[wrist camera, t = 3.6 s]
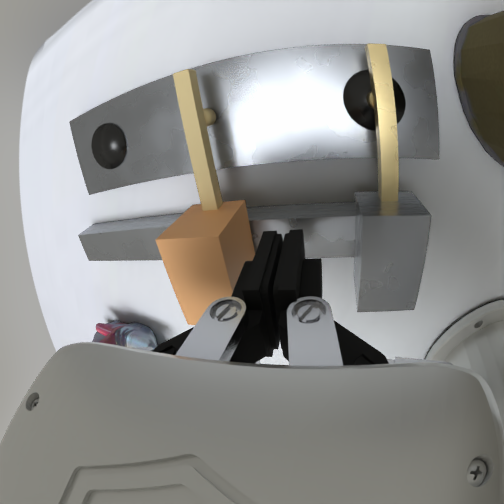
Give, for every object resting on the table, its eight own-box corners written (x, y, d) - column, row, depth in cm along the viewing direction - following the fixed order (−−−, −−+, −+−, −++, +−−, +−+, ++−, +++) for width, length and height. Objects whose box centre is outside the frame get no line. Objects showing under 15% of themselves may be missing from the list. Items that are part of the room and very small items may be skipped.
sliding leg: (225, 66, 11) (179, 54, 7) (263, 271, 17) (242, 328, 13) (173, 81, 12) (114, 82, 8) (218, 271, 18) (187, 324, 14)
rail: (416, 201, 14) (426, 215, 12) (412, 238, 15) (421, 255, 13) (93, 224, 21) (78, 235, 19) (102, 248, 22) (89, 260, 20)
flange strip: (423, 52, 9) (430, 49, 8) (432, 155, 12) (440, 159, 11) (78, 119, 16) (68, 122, 15) (97, 190, 19) (87, 195, 18)
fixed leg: (398, 53, 9) (422, 39, 6) (400, 269, 15) (414, 309, 12) (338, 51, 10) (344, 34, 7) (353, 270, 15) (357, 312, 12)
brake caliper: (69, 305, 24) (64, 400, 15) (162, 285, 28) (190, 377, 19) (103, 366, 30) (114, 446, 21) (178, 350, 34) (206, 427, 25)
